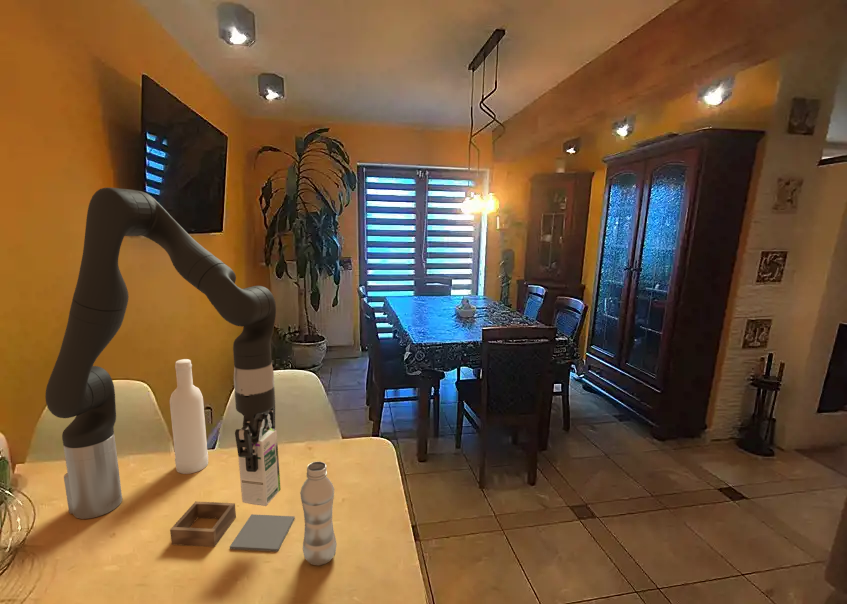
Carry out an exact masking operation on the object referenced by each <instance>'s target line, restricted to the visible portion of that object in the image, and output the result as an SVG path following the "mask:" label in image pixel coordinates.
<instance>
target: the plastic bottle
mask: <svg viewBox="0 0 847 604" xmlns="http://www.w3.org/2000/svg"><path fill="white" fill-rule="evenodd" d="M327 475H328V471H327V464H326V463H325V462H324V461H319V460H317V461H312V462H310V463H309V464H307V467H306V480H305V481H304V482H303V484H302V486H301V489H300V492H299V493H300V501H301V505H302V512H303V518H304V519H303V520H304V534H303V536H304V537H303V542H302V553H303V556H304V559H305V560H306V562H308V563H309V564H310V565H314V566H323V565H326V564H327V563H329V562H330V561H331V560H332V559H333V558H334V557H335V555H336V551H337V539H336V535H335V529H334V523H333V509H334V507H333V505H334V499H335V497H334V496H335V486H334V484H333V483H332V481H331V480H330V478H329V477H328V476H327Z"/></svg>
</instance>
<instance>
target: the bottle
mask: <svg viewBox="0 0 847 604" xmlns="http://www.w3.org/2000/svg"><path fill="white" fill-rule="evenodd" d="M192 368H193V364H192V360H191V359H188V358H183V359H178V360H176V361H175V365H174V369H175V373H176V374H175V375H176V385H177V387H176V388H175V389H174V391H173V390H172V392H171V395H170V398H169V408H170V409H169V410H170V417H171V418H170V419H171V427H172V440H173V448H174V449H173V450H174V462H175V463H174V464H175V468H176V472H178V473H179V474H184V475H190V474H194V473H198V472H200V471H202V470H204V469H205V468H206V467H207V466H208V464H209V453H208V444H207V431H206V419H205V408H204V397H203V394H202V391H201V390H200V388H199V387H197V386H195V385H194V381H193V370H192Z"/></svg>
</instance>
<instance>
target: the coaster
mask: <svg viewBox="0 0 847 604" xmlns="http://www.w3.org/2000/svg"><path fill="white" fill-rule="evenodd" d="M295 520H296V517H295V515H293V516H292V515H275V514H273V515H270V514H255V513H254V514H253V513H252V514H250V516H249V517H248V519H247V520H246V522H245V523H244V524H243V526H242V528H241V529H240V530H239V532H238V534H237V535H236V537H235V538H234V540H232V542H231V544H230V546H229V550H239V551H240V550H241V551H259V552H260V551H261V552H277V553H278V552H279V550H280V548H281V546H282V544H283V542H284V541H285V538H286V536H287V534H288V533H289V531H290V529H291V527H292V525H293V523H294V521H295Z"/></svg>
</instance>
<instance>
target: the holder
mask: <svg viewBox="0 0 847 604" xmlns="http://www.w3.org/2000/svg"><path fill="white" fill-rule="evenodd" d="M236 511H237V510H236V503H235V502H214V501H213V502H212V501H211V502H210V501H194V502H193V503H192V505H191V506H189V508H188V509H187V510H186V511H185V512H184V513H183V515H182V516H180V518H179V519H178V520H177V521H176V522H175V523H174V524H173V526H172V527H171V528H170V529H169V531H170V543H171V545H173V546H191V547H194V546H195V547H210V548H215V547H216V546H217V545H218V543H219V542H220V541H221V539H222V537H223V536H224V535H225V533H226V532H227V531H228V529H229V528H230V526H231V525H232V524H233V522H234V521H235V519H236V518H237V512H236ZM198 519H214V520H215V519H216V520H217V519H218V520H217V521H216V522H215V523H214V525H213V527H212V528H199V527H192V526H193V525H194V523H195V522H196V521H197V520H198Z"/></svg>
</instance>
